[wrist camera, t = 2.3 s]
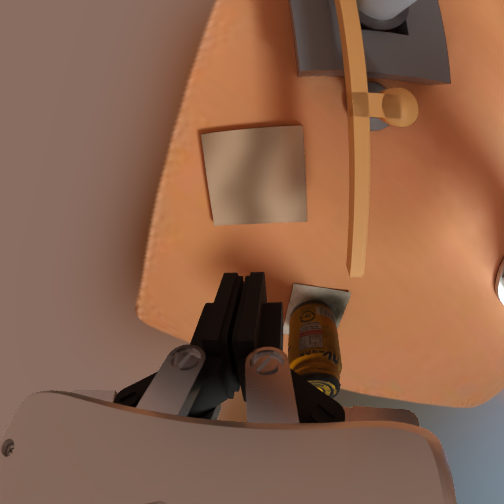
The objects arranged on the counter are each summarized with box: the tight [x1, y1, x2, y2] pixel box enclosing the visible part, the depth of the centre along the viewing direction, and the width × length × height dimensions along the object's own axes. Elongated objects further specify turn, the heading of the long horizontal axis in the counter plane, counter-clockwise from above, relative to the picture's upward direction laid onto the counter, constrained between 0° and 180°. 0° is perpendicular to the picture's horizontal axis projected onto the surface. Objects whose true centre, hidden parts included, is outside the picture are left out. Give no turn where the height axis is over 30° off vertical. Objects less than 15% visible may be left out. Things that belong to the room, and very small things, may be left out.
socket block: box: [288, 0, 451, 131], centre depth 18 cm, size 14×20×6 cm
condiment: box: [283, 284, 351, 399], centre depth 31 cm, size 7×8×12 cm
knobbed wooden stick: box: [334, 0, 419, 277], centre depth 18 cm, size 5×26×2 cm, turn 6°
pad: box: [201, 125, 307, 226], centre depth 29 cm, size 10×10×1 cm
